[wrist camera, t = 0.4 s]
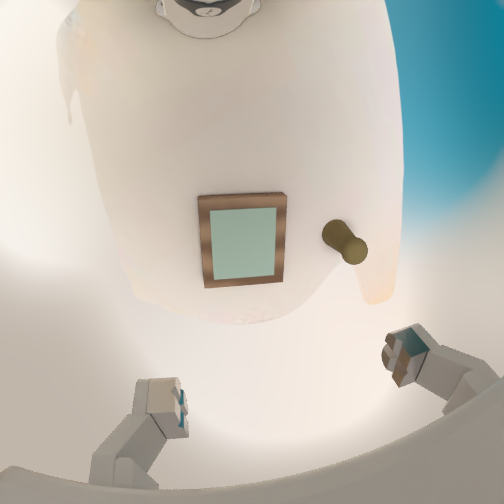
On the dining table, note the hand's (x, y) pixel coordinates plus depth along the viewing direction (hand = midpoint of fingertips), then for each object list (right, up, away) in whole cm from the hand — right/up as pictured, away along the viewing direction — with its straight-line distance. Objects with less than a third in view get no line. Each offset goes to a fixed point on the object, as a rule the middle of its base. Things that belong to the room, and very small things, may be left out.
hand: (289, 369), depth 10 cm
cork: (+16, +9, +51) cm, 54 cm away
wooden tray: (-3, +7, +48) cm, 48 cm away
